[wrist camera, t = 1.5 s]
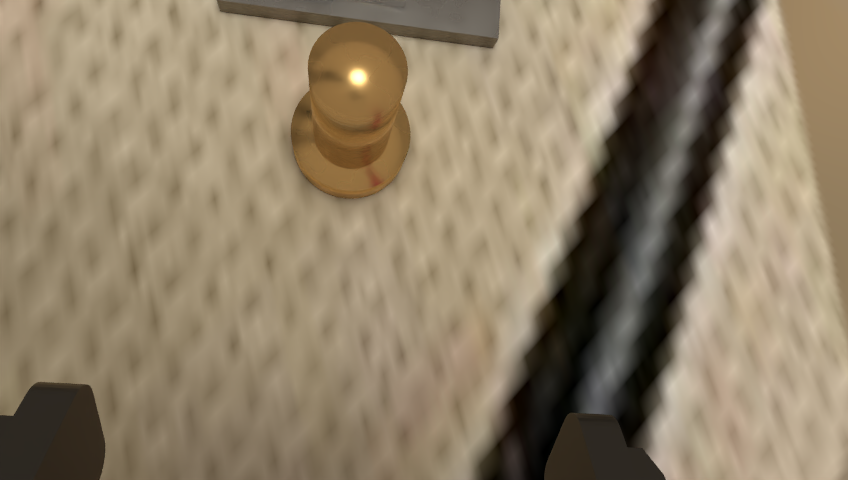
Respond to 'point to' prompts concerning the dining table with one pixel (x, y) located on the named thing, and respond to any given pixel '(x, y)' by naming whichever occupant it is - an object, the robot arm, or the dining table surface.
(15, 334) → the dining table surface
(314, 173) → the brass knob
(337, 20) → the carrier
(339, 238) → the dining table surface
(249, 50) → the dining table surface
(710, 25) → the dining table surface
